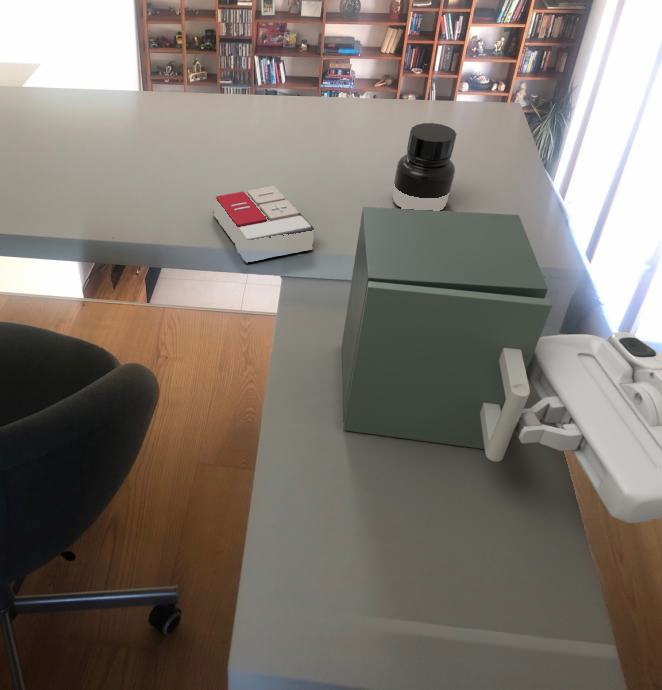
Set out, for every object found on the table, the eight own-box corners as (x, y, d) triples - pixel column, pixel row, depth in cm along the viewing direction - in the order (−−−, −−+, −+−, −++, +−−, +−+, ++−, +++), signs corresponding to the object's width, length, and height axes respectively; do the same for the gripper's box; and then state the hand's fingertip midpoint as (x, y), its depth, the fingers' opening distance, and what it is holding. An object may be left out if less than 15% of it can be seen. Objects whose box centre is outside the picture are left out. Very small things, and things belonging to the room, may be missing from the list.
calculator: (275, 182, 112) (316, 224, 100) (275, 206, 114) (314, 250, 103) (211, 194, 109) (245, 238, 98) (212, 218, 112) (245, 264, 101)
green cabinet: (491, 436, 76) (548, 289, 62) (343, 423, 77) (367, 277, 64) (472, 356, 85) (519, 214, 72) (341, 346, 87) (362, 206, 74)
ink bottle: (445, 189, 116) (461, 120, 108) (453, 217, 110) (471, 146, 102) (386, 187, 117) (397, 119, 109) (391, 214, 111) (404, 144, 103)
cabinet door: (501, 498, 69) (566, 352, 56) (340, 475, 72) (366, 330, 59) (493, 443, 75) (550, 298, 62) (343, 423, 77) (368, 280, 64)
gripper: (717, 531, 58) (557, 544, 58) (596, 366, 74) (468, 375, 73) (754, 484, 54) (581, 498, 54) (618, 320, 69) (482, 329, 69)
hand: (515, 426), depth 64 cm, fingers closed, pressing on cabinet door
